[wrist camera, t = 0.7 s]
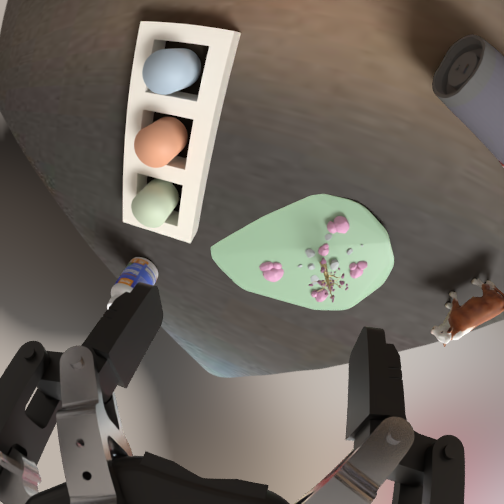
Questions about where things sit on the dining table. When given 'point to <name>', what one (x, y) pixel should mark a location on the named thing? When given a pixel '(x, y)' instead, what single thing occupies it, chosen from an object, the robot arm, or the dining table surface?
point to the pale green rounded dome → (155, 203)
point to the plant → (310, 254)
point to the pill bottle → (134, 277)
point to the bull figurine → (469, 312)
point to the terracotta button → (160, 142)
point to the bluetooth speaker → (475, 89)
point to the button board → (183, 105)
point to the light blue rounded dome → (171, 70)
